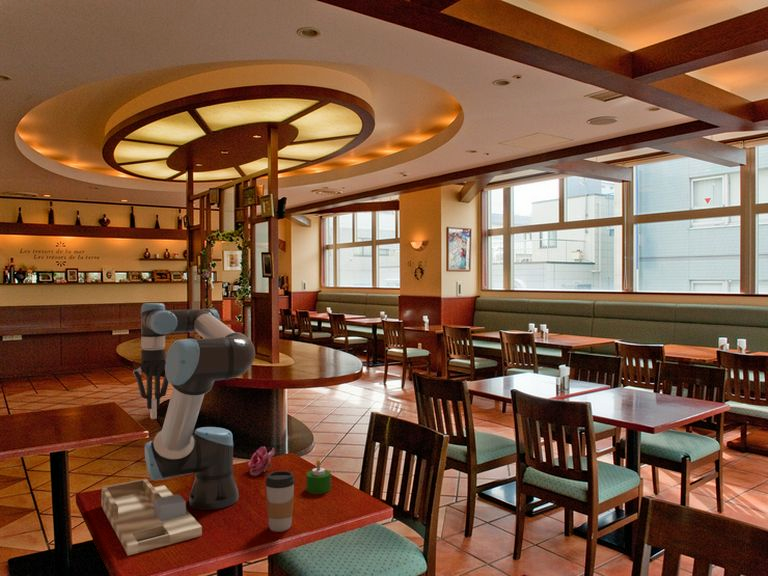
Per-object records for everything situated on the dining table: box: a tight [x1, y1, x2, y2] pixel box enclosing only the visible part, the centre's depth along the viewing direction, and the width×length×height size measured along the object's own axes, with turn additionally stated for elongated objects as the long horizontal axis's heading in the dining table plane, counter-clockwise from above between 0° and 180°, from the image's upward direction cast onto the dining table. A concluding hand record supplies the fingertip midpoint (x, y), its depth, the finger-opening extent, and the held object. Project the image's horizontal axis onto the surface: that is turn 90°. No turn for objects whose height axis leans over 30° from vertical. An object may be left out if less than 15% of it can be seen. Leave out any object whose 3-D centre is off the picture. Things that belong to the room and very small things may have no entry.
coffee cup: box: [265, 470, 295, 533], centre depth 158 cm, size 8×8×15 cm
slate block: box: [154, 493, 187, 521], centre depth 161 cm, size 7×7×4 cm
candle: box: [305, 459, 332, 495], centre depth 187 cm, size 8×8×10 cm
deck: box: [100, 477, 203, 556], centre depth 162 cm, size 39×19×6 cm, turn 36°
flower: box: [248, 446, 277, 476], centre depth 204 cm, size 11×10×10 cm
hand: (153, 417), depth 186 cm, fingers closed
